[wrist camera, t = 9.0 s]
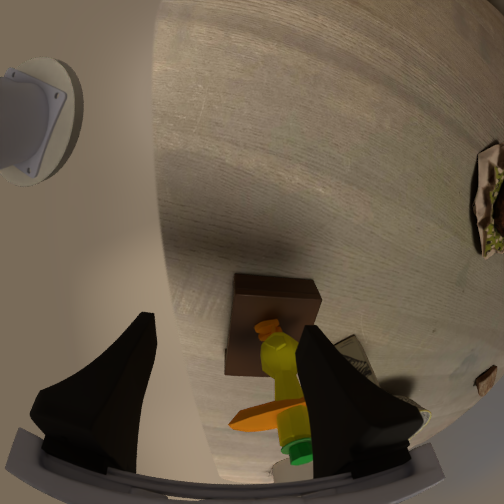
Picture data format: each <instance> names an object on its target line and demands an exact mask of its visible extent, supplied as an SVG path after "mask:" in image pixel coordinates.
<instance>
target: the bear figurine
mask: <svg viewBox="0 0 504 504" xmlns="http://www.w3.org/2000/svg"><path fill="white" fill-rule="evenodd" d="M478 166H479V187H478V190H477V194H476V197H475V200H474V203H475V206H474V207H473V206H472V207H473V211H474V214H475V215H476V216H477V226H478V229H479V234H480V241H481V248H482V257H483V258H484V259H485V260H487V259H488V258H489V257H490V256H491V255H493V254H494V253H500V254H503V253H504V142H503V143H502V144H498V145H494V146H493V147H491V148H489V149H487V150H485V151H483V152H481V153H479V154H478ZM474 203H473V205H474Z"/></svg>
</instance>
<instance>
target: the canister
mask: <svg viewBox="0 0 504 504" xmlns="http://www.w3.org/2000/svg"><path fill="white" fill-rule="evenodd" d="M272 471H273V479H274V483H284V482H294V481H302V480H310V479H313V461H311V462H309V463H306V464H302V465H298V466H295V465H291V464H290V458H287V459H284V460H282V461H280V462H277V463H276V464H275V465H273V468H272ZM298 497H301V496H298Z"/></svg>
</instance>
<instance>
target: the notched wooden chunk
mask: <svg viewBox="0 0 504 504" xmlns="http://www.w3.org/2000/svg"><path fill="white" fill-rule="evenodd" d="M496 372H497V366H493V367H491V368H490V369H489V370H488V371H487V372H486V373H485V374H483V375H482V376H480V377H478V378H477V379H476V386H477V389H478V393H479V395H480V396H485V395H486V394H487V392H488V391H489V390H490V389H491V388H492V386H493V384H494V381H495V377H496Z"/></svg>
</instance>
